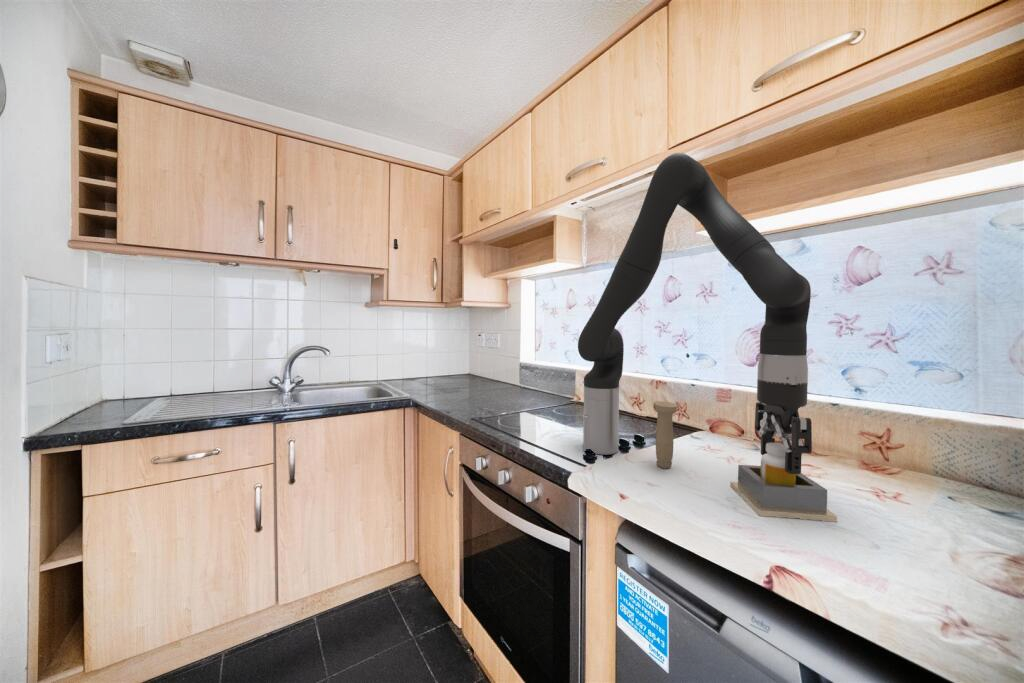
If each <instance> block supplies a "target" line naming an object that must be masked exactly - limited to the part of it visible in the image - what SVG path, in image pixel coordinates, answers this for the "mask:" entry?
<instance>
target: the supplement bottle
mask: <svg viewBox="0 0 1024 683" xmlns="http://www.w3.org/2000/svg"><path fill="white" fill-rule="evenodd" d="M766 452H767V454H764V455H761V458H760V466H761V478H762V479H763V480H764V481H766V482H767V483H772V484H788V485H796V474H789V473H787V472H786V471H785V452H787V451H786V449H785V446H784V443H779V442H775V443H767V444H766Z"/></svg>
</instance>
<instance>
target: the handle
mask: <svg viewBox="0 0 1024 683" xmlns="http://www.w3.org/2000/svg"><path fill="white" fill-rule="evenodd" d="M652 406H653V410H654V411H655V412H656V413H657V415H656V417H657V419H656V432H655V457H656V465H657V466H656V467H659V468H662V469H670V468H671V467H672V464H673V462H672V461H673V456H674V428H673V416H674V415H673V414H675V413H676V412H678V405H677V403H673V402H671V401H665V400H664V401H663V400H662V401H661V400H660V401H658V400H656V401H653V405H652Z"/></svg>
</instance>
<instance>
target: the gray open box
mask: <svg viewBox="0 0 1024 683" xmlns="http://www.w3.org/2000/svg"><path fill="white" fill-rule="evenodd" d="M737 466H738V467H737V468H738V469H737V472H738V473H737V481H730V488H731V489H732V490H734V492H735V493H737V495H738V494H739V495H740V496H741V497H742V498H743V499H744V500H745V501H746V502H747V503H748V504H749V505H750V506H751V507H752V508H751V507H750V506H749V505H748V504H747V503H746V502H745V501H744V500H743V499H742V498H741V497H740V496H739V495H738V496H739V497H740V498H741V499H742V500H743V501H744V502H745V503H746V504H747V505H748V506H749V507H750V508H751V509H752V510H753V511H754V513H756V514H757V515H758V516H759V515H760V516H759V517H768V516H776V517H775V518H781V517H788V518H787V519H793V518H800V519H799V520H806V519H811V520H810V521H819V520H822V521H821V522H834V523H838V515H836V513H834V512H833V511H831V510H830V509H829V508H828V489H826V488H825V487H823V486H822V485H820V484H819V483H817V482H816V481H814V480H813V479H811V478H810V477H808V476H807V475H804V474H803V473H802V472H801V473H800V474H796V485H788V484H772V483H767V482H766V481H764V480H763V479H762V478H761V465H752V464H751V465H750V464H749V465H748V464H738V465H737Z"/></svg>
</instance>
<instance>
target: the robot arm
mask: <svg viewBox="0 0 1024 683" xmlns="http://www.w3.org/2000/svg"><path fill="white" fill-rule="evenodd" d="M651 177H652V178H651V181H650V182H649V185H648V189H647V191H646V195H645V197H644V200H643V203H642V206H641V208H640V211H639V214H638V216H637V219H636V221H635V223H634V226H633V227H632V229H631V232H630V234H629V236H628V239H627V241H626V243H625V246H624V247H623V249H622V252H621V254H620V255H619V257H618V259H617V262H616V264H615V266H614V268H613V270H612V273H611V276H610V278H609V280H608V282H607V284H606V286H605V288H604V290H603V292H602V294H601V297H600V299H599V301H598V303H597V305H596V306H595V308H594V311H593V312H592V314H591V316H590V317H589V319H588V320H587V322H586V324H584V326H583V329H582V330H581V333H580V335H579V338H578V341H577V351H578V354H579V355H580V357H581V358H582V359H583V360H584V361H586V362H591V363H592V362H593V366H592V368H591V369H590V370H589V372H587V373H586V374H585V375H584V377H583V412H582V413H583V416H582V417H583V420H582V422H583V424H582V425H583V426H582V428H583V431H582V432H583V433H582V434H583V435H582V439H583V441H582V446H583V452H584V453H585V451H586V449H591V450H592V451H593V452H594V453H595V454H596V455H605V456H606V455H614V454H617V453H618V452H619V445H620V444H619V434H620V433H619V432H620V430H619V427H620V426H619V425H620V424H619V423H620V422H619V420H620V417H619V416H620V411H619V410H620V381H621V378H622V375H623V370H624V369H623V366H624V354H625V353H624V339H623V336H622V334H621V333H620V332H621V331H619V330H618V329H616V326H617V324H618V322H619V320H620V319H621V318H622V316H624V314H625V313H626V312H627V311H628V310H629V309H630V308H631V307H632V306H633V305H635V303H636V302H638V300H639V299H640V298H642V296H643V295H644V294H645V293H646V291H647V289H648V288H649V286H650V284H651V283H652V281H653V279H654V277H655V274H656V273H657V271H658V268H659V266H660V263H661V260H662V256H663V255H662V254H663V248H664V239H665V235H666V231H667V227H668V224H669V223H670V220H671V218H672V216H673V214H674V213H675V211H676V208H677V206H679V207H681V208H682V209H683V210H685V211H687V212H688V213H689V214H691V215H692V216H693V217H694V218H695V219H696V220H697V221H698V222H699V223H700V224H701V226H702V227H703V229H704V230H705V231H706V232H707V234H708V236H709V239H710V240H711V241H712V243H713V245H714V246H715V247H716V249H717V250H718V251H719V252H720V253H721V255H722V256H723V257H724V258H725V259H726V260H727V261H728V262H729V264H730V265H731V266H732V267H733V268H734V269H735V270H736V271H737V273H740V275H741V277H743V279H744V280H745V282H746V283H747V285H748V286H749V288H750V289H751V291H752V292H753V293H754V294H755V295H756V296H757V297H758V299H759V300H760V302H762V303H763V304H765V314H764V315H765V318H764V324H763V326H762V327H761V329H760V336H759V358H758V361H757V362H758V364H757V382H756V383H757V387H756V388H757V389H756V399H757V401H758V402H756V403H755V413H754V414H755V416H754V430H755V431H756V432H758V435H759V437H760V455H761V456H762V455H764V454H767V452H766V444H767V443H776V439H775V437H776V435H777V436H778V439H779V440H780V441H781V442H782V444H784V446H785V449H786V451H787V452H785V471H786V472H787V473H789V474H800V473H802V455H803V454H812V452H813V451H812V450H813V448H812V447H813V445H812V444H813V443H812V442H813V441H812V438H813V437H812V434H813V432H812V429H813V428H812V419H811V418H810V417H801V416H800V414H799V409H800V408H803V407H806V406H807V404H808V384H809V383H808V382H809V380H808V377H809V366H808V360H807V359H808V358H807V353H808V352H807V344H808V334H807V323H808V320H809V314H810V307H811V297H812V296H811V293H812V291H811V284H810V282H809V281H808V279H807V278H806V277H805V276H804V275H802V274H800V273H799V272H798V271H797V270H795V268H794V267H792V266H791V265H790V264H789V263H788V262H787V261H786V260H785V259H784V258H782V257H781V256H780V255H779V253H777V252H776V249H775V248H774V247H773V245H772V244H771V243H770V241H769V240H767V238H766V237H765V236H763V234H762V233H761V232H759V230H757V228H755V227H754V226H753V225H752V224H751V223H750V222H749V221H748V219H746V218H745V217H744V216H743V215H741V213H739V212H738V211H737V210H736V209H735V208H734V207H733V206H732V205H731V204H730V203H729V202H728V200H727V199H725V197H724V196H723V195H722V193H721V192H720V191H719V189H718V187H717V186H716V184H715V183H714V181H713V180H712V178H711V177H710V175H709V173H708V171H707V170H706V168H705V166H704V165H703V164H702V163H700V162H699V161H698V160H696V159H695V158H693V157H692V156H690V155H688V154H687V153H683V152H676V153H671V154H670V155H668V156H667V157H665V158H664V159H663V160H662V161H661V162H660V163H659V165H658V166H657V167H656V169H655V171H654V173H653V175H652V176H651ZM802 440H804V441H802ZM594 453H593V454H594Z"/></svg>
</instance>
